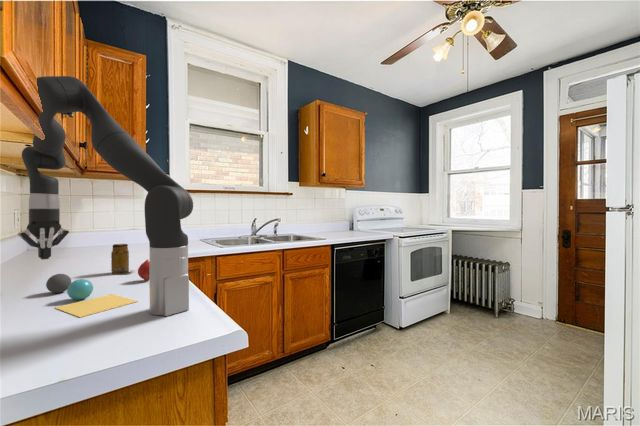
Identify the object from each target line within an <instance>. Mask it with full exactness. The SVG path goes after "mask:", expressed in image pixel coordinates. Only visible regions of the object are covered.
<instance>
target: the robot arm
mask: <svg viewBox="0 0 640 426" xmlns="http://www.w3.org/2000/svg"><path fill="white" fill-rule="evenodd" d="M36 78H37V86H38V93H39V97H40V100H41V104H42V109H43V112H42V113H41V114H38V117H39V123H40V126H41V128H42V131H43V133H44V135H45V139H44V140H41V139H40V138H38V137H37V136H35V135H34V134H33V139H32V145H29V146H26V147H24V148H23V149H22V151H21V158H22V162H23V164H24V167H25V169H26V171H27V175H28V180H29V197H28V224H27V226H26V229H25V230H23V231H20V232H18V233H17V236H19V237H20V238H21V239H22V241H24V242H25V243H26V244H28V245H29V246H30V247H33V248H37V254H38V258H40V260H43V261H44V260H49V259H50V258H51V257H52V247H55V246H58V245H59V244H60V243H61V242H62V240H64V239H65V238H66V236H67V235H68V234H69V233H70V231H69V230H66V229H64V228H63V227H62V225H61V223H60V221H61V220H60V219H61V217H60V211H61V210H60V207H61V204H60V202H61V201H60V197H59V196H60V195H59V185H60V183H59V179H58V178H57V177H54V176H50V175H45V174H43V173H41V172H40V171H39V169H42V170H54V171H57V170H58V171H59V170H61V169H63V168H64V167H65V165H66V156H65V154H64V153H65V152H64V150H63V149H64V145H65V142H66V138H67V137H66V136H67V135H66V130H65V129H64V127H63V126H62V124H60V123H59V121H57V120H56V119H55V118H54V117H55V116H56V115H57V114H69V113H77V112H78V113H82V114H83V115H84V116H85V117H86V118H87V119H88V120H89V122H90V126H91V128H90V129H91V130H90V138H91V145H92V148H93V149H94V151H95V152H96V153H97V154H98V155H99V156H100V157H101V158H102V159H103V161H104V162H105V163H107V164H108V166H110V167H111V168H112V169H113V170H115V171H116V172H117V173H119V174H120V175H122V176H124V177H126V178H127V179H129V180H131V181H132V182H134V183H136V184H137V185H138V186H140V188H141V187H142V188H143V189H144V190H145V191H146V192H147V194H146V196H145V200H144V223H145V225H144V226H145V234H146V237H147V240H148V242H149V243H148V244H149V259H148V260H149V262H150V279H149V313H150V314H151V315H155V316H165V317H167V316H172V315H176V314H178V313H182V312H187V311H189V310H190V292H189V291H190V276H189V236H188V234H186V233H185V232H184V231H183V229H182V227H181V226H182V224H181V221H182V219H186V218H188V217H189V216H190V215H191V214H192V212H193V210H194V202H193V198H192V196H191V195H190V193H189V192H188V190H186V189H185V188H184V187H183V186H181V185H180V184H179V183H177V182H176V181H175V179H173V178H171V177H170V176H169V174H167V173H166V172H165V171H164V170H163V169H162V168H161V167H160V166H159V165H158V163H157V162H155V161H154V159H153V158H152V157H151V156H150V155H149V154H148V153H147V152H146V151H145V150H144V149H143V148H142V146H141V145H140V144H139V143H138V142H137V141H136V140H135V139H134V138H133V136H131V135H130V134H129V133H128V132H127V130H125V129H124V128H123V127H122V126H121V125H120V124H119V123H118V122H117V121H116V120H115V119H114V118H113V117H112V116H111V114H110V113H109V112H108V111H107V110H106V109H105V107H104V106H103V104H102V103H100V101H99V100H98V99H97V98H96V96H95V95H94V94H93V92H92V91H91V90H90V89H89V87H88V86H87V85H86V84H85V83H84V82H83V81H82V80H80V79H79V78H77V77H75V76H71V75H70V76H69V75H65V76H64V75H62V76H61V75H53V76H52V75H51V76H50V75H49V76H45V75H44V76H38V77H36ZM56 234H57V235H56ZM31 235H32V236H33V237H35V240H34V239H32V238H31ZM55 235H56V236H55Z"/></svg>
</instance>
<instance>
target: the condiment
mask: <svg viewBox="0 0 640 426" xmlns="http://www.w3.org/2000/svg"><path fill="white" fill-rule="evenodd" d="M128 246H129V245H128V244H127V243H117V244H116V243H115V244H112V249H111V254H110V256H111V257H110V258H111V262H110V263H111V265H110V267H111V270H110V271H111V272H110V273H107V274H106V275H110V276H111V275H126V274H127V275H129V274H132V273H135V272H138V270H136V271H135V270H130V261H129V260H130V253H129V247H128ZM129 271H130V272H129Z"/></svg>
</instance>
